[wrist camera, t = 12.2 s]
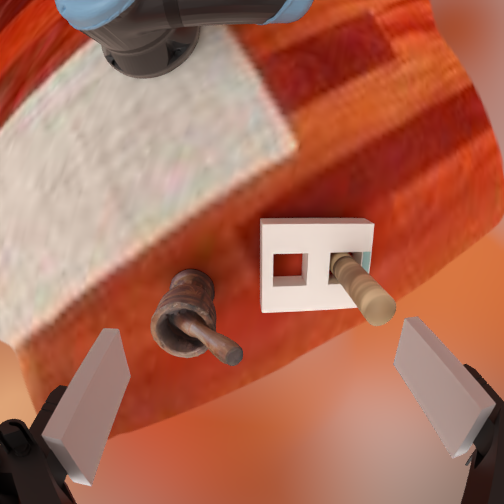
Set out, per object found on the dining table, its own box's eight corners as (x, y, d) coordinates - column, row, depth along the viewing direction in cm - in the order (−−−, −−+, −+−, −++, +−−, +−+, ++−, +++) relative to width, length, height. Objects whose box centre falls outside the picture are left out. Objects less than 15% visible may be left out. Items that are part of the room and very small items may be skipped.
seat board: (260, 218, 49) (262, 224, 45) (364, 218, 50) (374, 224, 46) (260, 301, 54) (262, 313, 50) (356, 296, 54) (364, 307, 50)
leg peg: (326, 248, 51) (368, 296, 34) (349, 247, 52) (398, 294, 34) (325, 271, 53) (363, 327, 35) (347, 270, 53) (392, 324, 36)
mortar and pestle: (220, 248, 50) (213, 309, 31) (245, 293, 53) (251, 369, 34) (158, 278, 51) (123, 347, 33) (185, 319, 54) (165, 400, 35)
